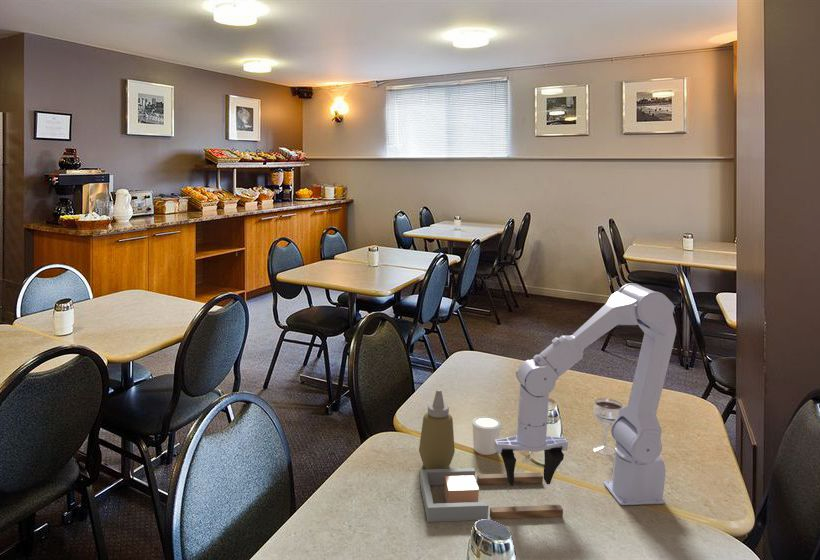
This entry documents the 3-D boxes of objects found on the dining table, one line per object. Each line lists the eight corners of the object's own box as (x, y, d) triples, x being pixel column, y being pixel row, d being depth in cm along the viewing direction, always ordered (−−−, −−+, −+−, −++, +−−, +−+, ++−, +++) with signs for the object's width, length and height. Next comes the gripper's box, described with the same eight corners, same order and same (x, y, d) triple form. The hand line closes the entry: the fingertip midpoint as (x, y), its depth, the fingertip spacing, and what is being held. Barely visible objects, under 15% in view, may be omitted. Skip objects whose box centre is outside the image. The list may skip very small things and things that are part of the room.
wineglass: (586, 442, 130) (590, 397, 128) (614, 444, 129) (619, 398, 127) (593, 456, 123) (597, 408, 121) (622, 458, 123) (627, 410, 120)
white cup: (499, 457, 122) (500, 430, 120) (469, 454, 123) (471, 426, 122) (500, 443, 128) (501, 417, 127) (472, 440, 130) (473, 414, 128)
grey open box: (473, 480, 112) (473, 467, 111) (487, 519, 99) (488, 505, 99) (419, 482, 111) (420, 469, 110) (427, 521, 98) (427, 507, 97)
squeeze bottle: (455, 476, 114) (458, 399, 110) (418, 475, 114) (420, 398, 110) (452, 456, 122) (455, 384, 118) (418, 456, 122) (420, 383, 118)
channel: (540, 478, 113) (540, 472, 113) (562, 516, 101) (563, 509, 100) (477, 480, 112) (477, 474, 112) (491, 519, 99) (492, 512, 99)
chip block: (472, 492, 108) (473, 475, 107) (477, 507, 103) (478, 489, 102) (444, 493, 107) (444, 476, 107) (448, 508, 103) (448, 490, 102)
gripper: (560, 410, 108) (556, 470, 110) (491, 412, 107) (489, 472, 109) (573, 426, 101) (568, 489, 104) (500, 428, 100) (497, 492, 102)
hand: (528, 482), depth 106 cm, fingers open, 7 cm apart
